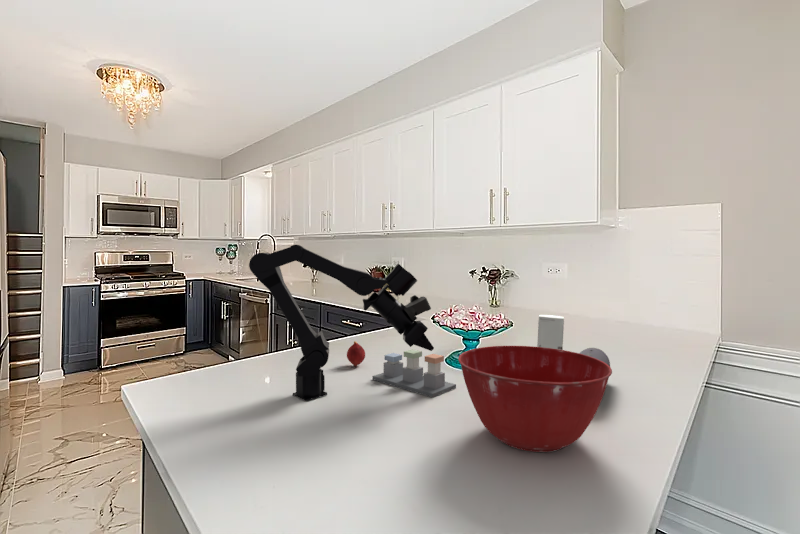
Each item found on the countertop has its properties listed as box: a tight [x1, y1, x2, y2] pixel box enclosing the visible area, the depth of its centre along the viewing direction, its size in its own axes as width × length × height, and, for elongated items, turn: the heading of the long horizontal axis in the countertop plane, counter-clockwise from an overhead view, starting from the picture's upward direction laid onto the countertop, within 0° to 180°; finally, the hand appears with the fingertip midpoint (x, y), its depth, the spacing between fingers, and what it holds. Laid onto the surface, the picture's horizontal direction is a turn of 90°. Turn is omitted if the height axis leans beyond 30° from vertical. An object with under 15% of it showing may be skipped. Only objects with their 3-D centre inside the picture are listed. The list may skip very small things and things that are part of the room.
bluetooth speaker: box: [578, 347, 611, 367], centre depth 110 cm, size 23×9×10 cm, turn 149°
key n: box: [403, 349, 423, 370], centre depth 117 cm, size 4×4×5 cm
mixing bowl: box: [457, 345, 613, 453], centre depth 84 cm, size 28×28×16 cm
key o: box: [384, 352, 403, 365], centre depth 122 cm, size 4×4×5 cm
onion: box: [346, 340, 366, 367], centre depth 135 cm, size 6×6×8 cm
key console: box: [372, 361, 457, 399], centre depth 117 cm, size 10×22×4 cm, turn 47°
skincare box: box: [536, 314, 565, 350], centre depth 142 cm, size 8×6×15 cm
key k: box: [424, 353, 445, 375], centre depth 112 cm, size 4×4×5 cm
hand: (432, 349), depth 111 cm, fingers closed
